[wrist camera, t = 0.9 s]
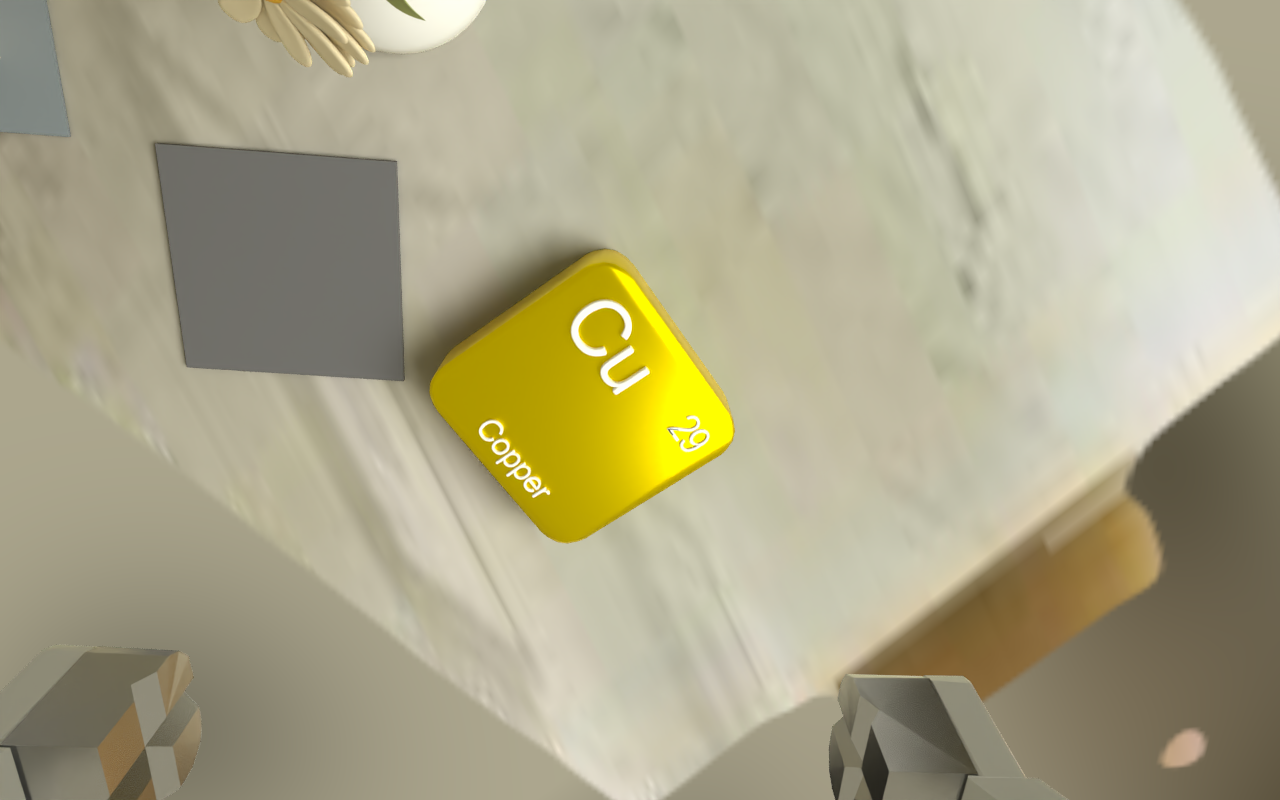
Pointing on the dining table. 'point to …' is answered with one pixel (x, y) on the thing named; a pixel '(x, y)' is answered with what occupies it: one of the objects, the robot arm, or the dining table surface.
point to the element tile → (584, 398)
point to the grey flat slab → (29, 71)
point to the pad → (285, 261)
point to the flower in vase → (355, 26)
